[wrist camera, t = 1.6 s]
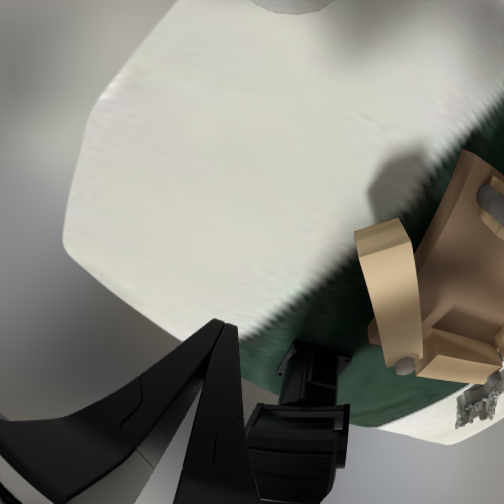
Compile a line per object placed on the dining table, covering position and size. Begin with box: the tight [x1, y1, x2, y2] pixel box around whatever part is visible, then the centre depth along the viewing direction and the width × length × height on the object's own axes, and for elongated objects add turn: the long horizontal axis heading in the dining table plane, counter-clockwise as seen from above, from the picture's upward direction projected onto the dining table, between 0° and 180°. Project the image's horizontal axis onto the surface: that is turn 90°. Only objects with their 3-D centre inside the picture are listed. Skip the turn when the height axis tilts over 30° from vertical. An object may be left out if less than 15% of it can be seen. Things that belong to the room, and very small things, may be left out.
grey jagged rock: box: [455, 382, 498, 429], centre depth 24 cm, size 11×8×4 cm
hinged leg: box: [354, 218, 423, 375], centre depth 16 cm, size 11×3×4 cm, turn 27°
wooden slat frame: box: [368, 149, 504, 387], centre depth 14 cm, size 17×17×6 cm
